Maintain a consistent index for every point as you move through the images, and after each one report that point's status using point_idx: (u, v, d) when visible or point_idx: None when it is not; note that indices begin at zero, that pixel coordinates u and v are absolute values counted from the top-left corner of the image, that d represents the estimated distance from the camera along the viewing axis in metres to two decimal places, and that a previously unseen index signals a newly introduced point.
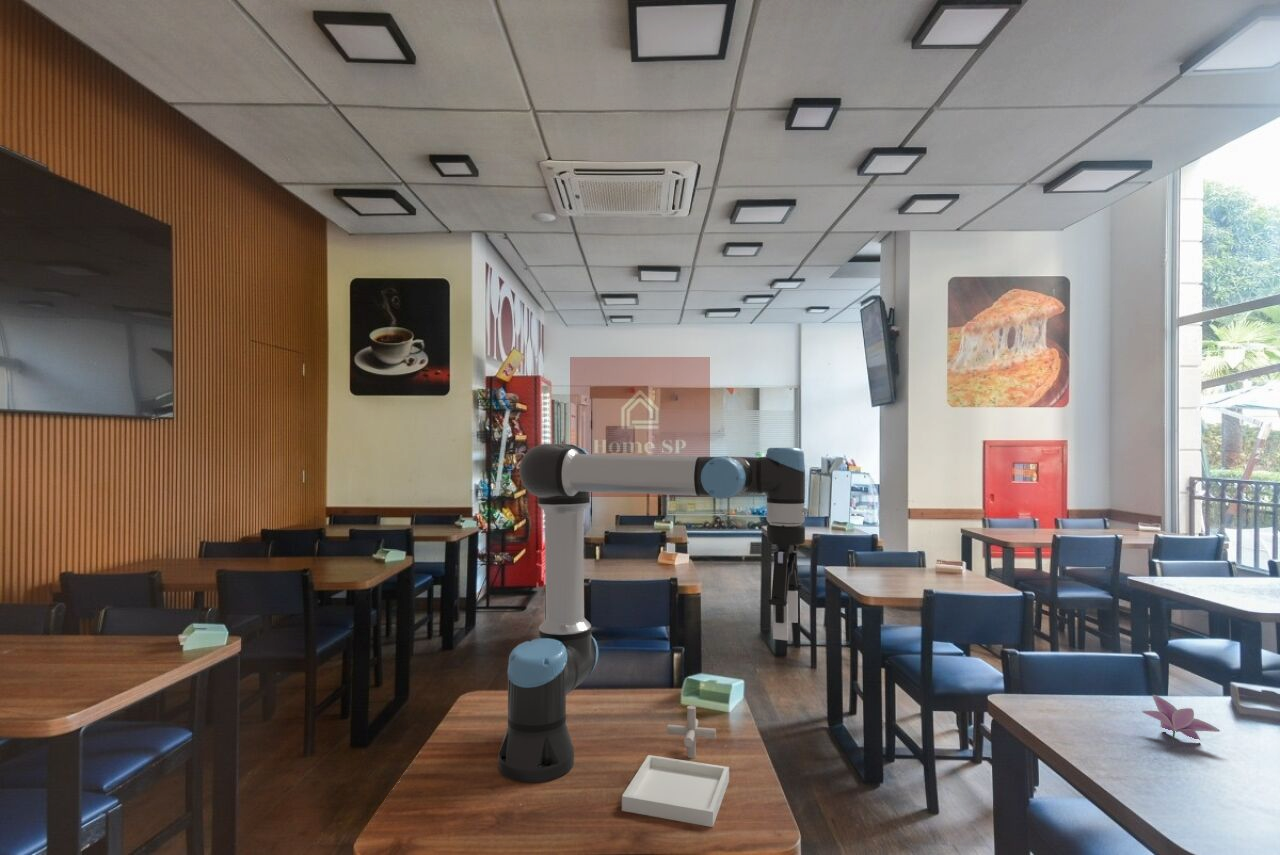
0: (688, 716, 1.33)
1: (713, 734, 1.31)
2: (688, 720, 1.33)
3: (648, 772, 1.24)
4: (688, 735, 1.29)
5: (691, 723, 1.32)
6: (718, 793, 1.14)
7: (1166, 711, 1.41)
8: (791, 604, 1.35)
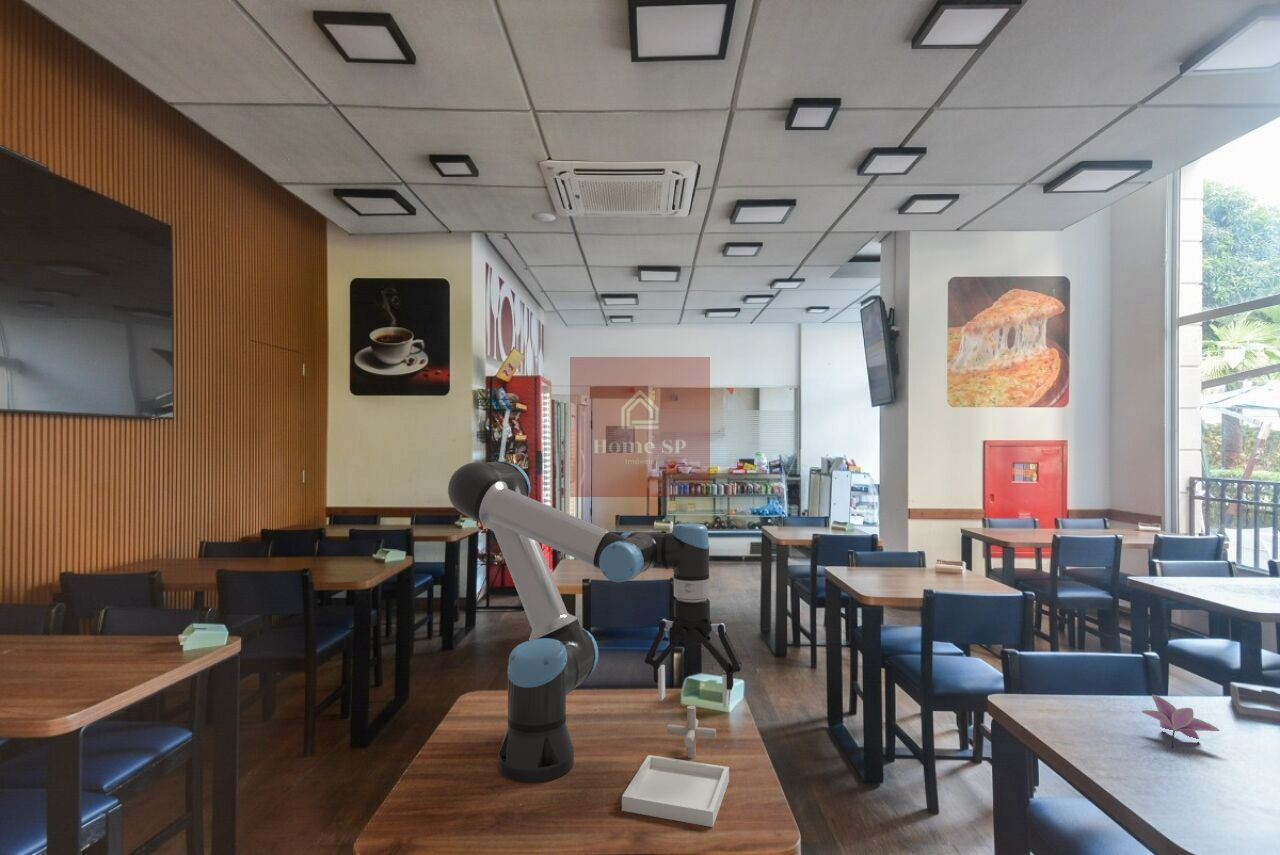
0: (688, 716, 1.33)
1: (713, 734, 1.31)
2: (688, 720, 1.33)
3: (648, 772, 1.24)
4: (688, 735, 1.29)
5: (691, 723, 1.32)
6: (718, 793, 1.14)
7: (1166, 710, 1.41)
8: None
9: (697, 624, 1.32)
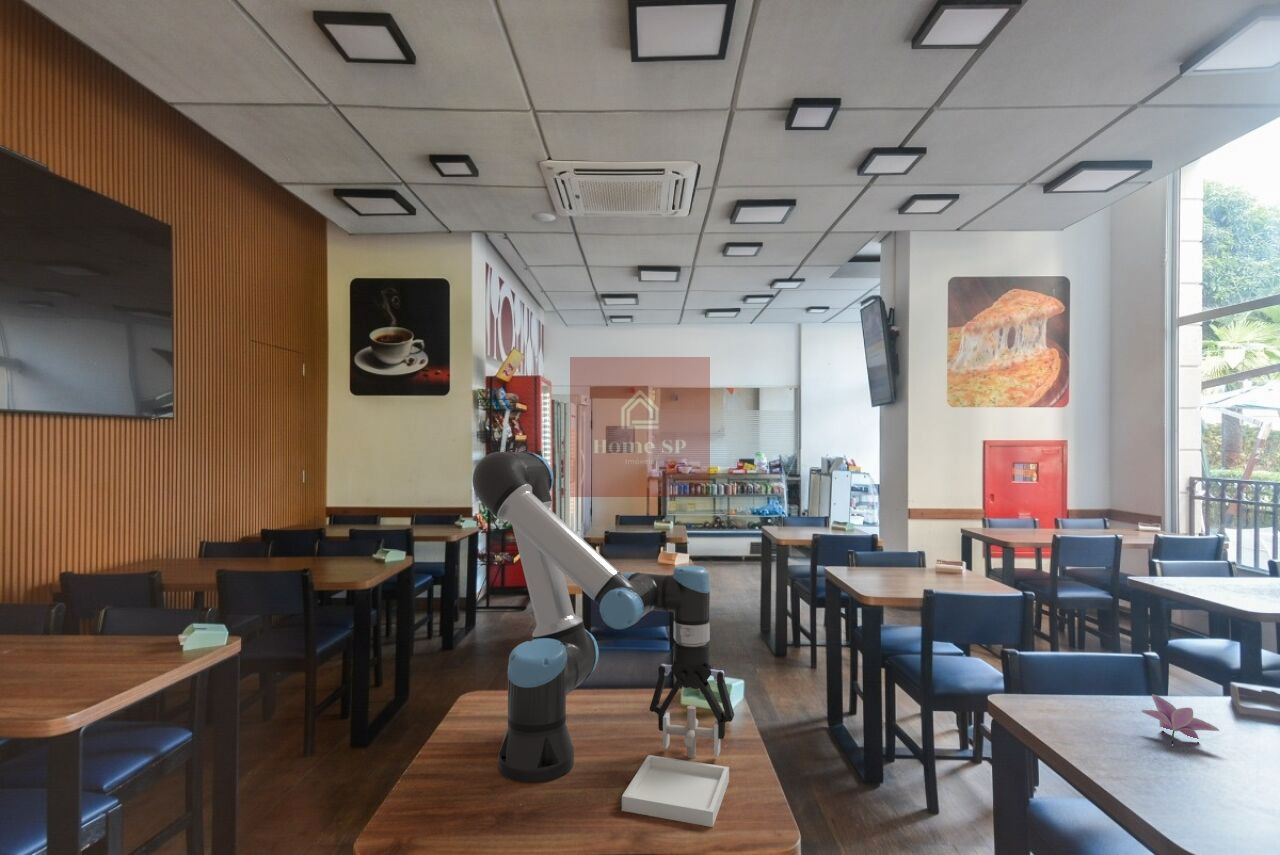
0: (688, 716, 1.33)
1: (713, 734, 1.31)
2: (688, 720, 1.33)
3: (648, 772, 1.24)
4: (688, 735, 1.29)
5: (691, 723, 1.32)
6: (718, 793, 1.14)
7: (1165, 710, 1.41)
8: None
9: (697, 667, 1.32)
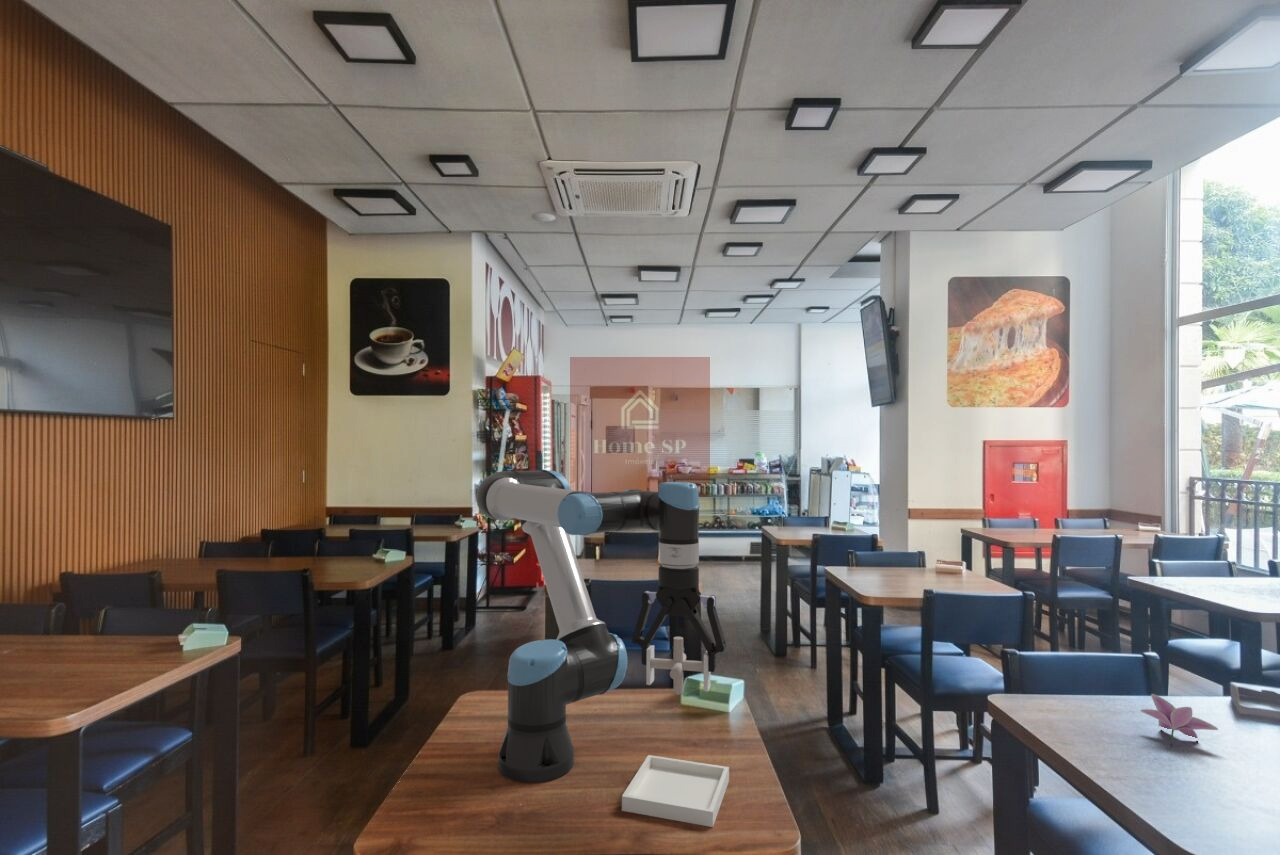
0: (675, 648, 1.19)
1: (702, 666, 1.17)
2: (675, 652, 1.19)
3: (648, 772, 1.24)
4: (674, 667, 1.15)
5: (678, 655, 1.18)
6: (718, 793, 1.14)
7: (1164, 709, 1.42)
8: None
9: (685, 592, 1.18)
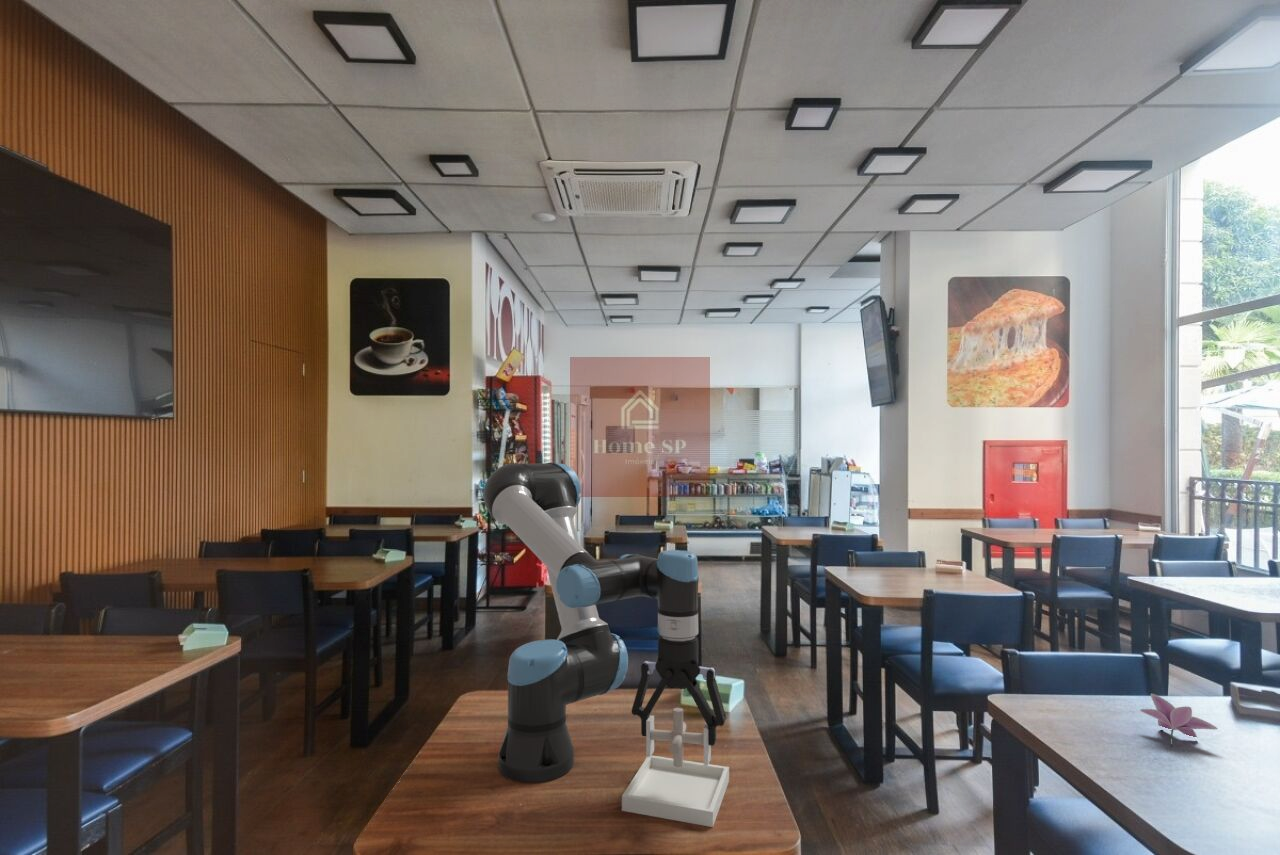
0: (674, 720, 1.18)
1: (702, 739, 1.16)
2: (674, 724, 1.18)
3: (648, 772, 1.24)
4: (674, 741, 1.14)
5: (678, 727, 1.17)
6: (718, 793, 1.14)
7: (1164, 709, 1.42)
8: None
9: (684, 664, 1.17)
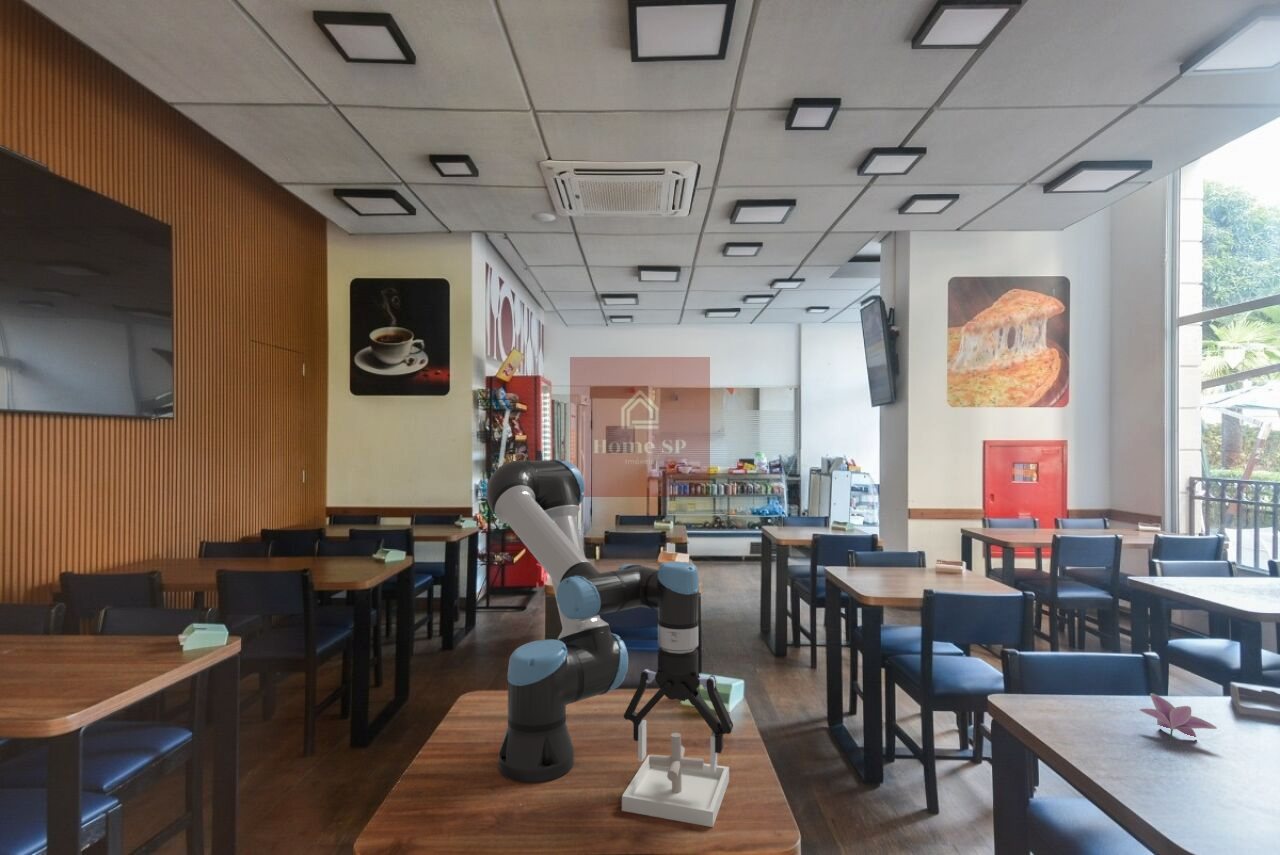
0: (672, 745, 1.18)
1: (701, 765, 1.16)
2: (672, 750, 1.18)
3: (648, 772, 1.24)
4: (672, 767, 1.14)
5: (676, 753, 1.17)
6: (718, 793, 1.14)
7: (1163, 708, 1.42)
8: None
9: (683, 677, 1.17)
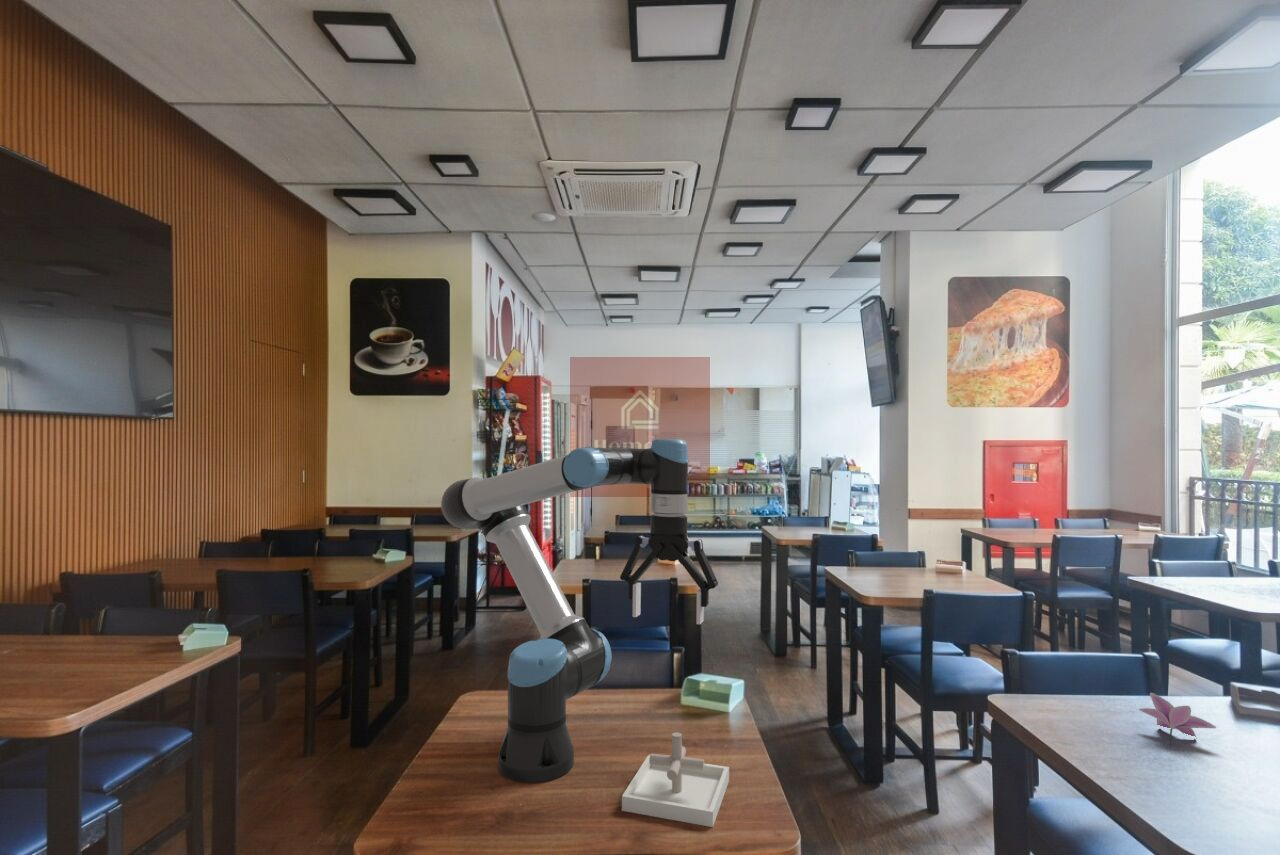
0: (673, 745, 1.18)
1: (701, 765, 1.16)
2: (673, 749, 1.18)
3: (648, 772, 1.24)
4: (672, 767, 1.15)
5: (676, 753, 1.17)
6: (718, 793, 1.14)
7: (1163, 708, 1.42)
8: None
9: (673, 540, 1.29)
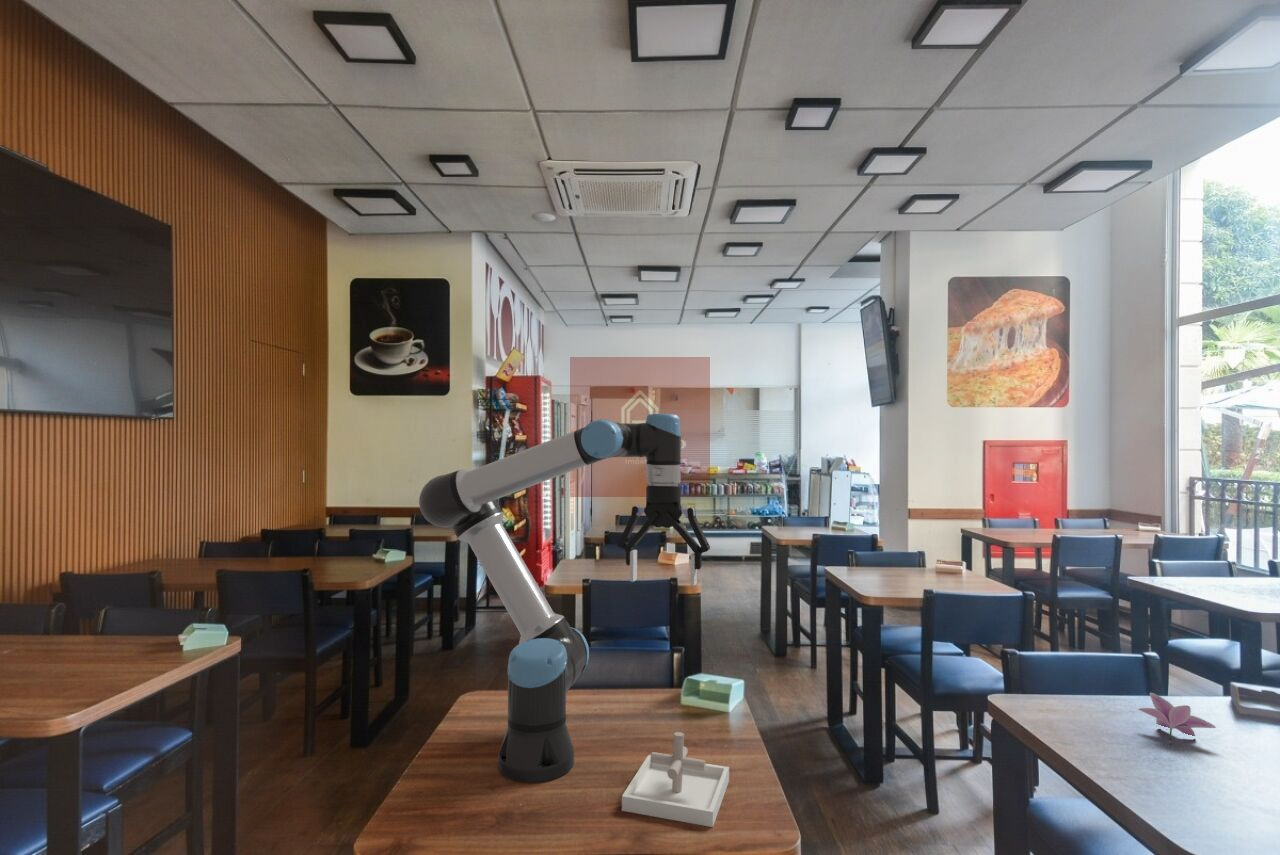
0: (675, 744, 1.18)
1: (702, 766, 1.16)
2: (674, 748, 1.18)
3: (648, 772, 1.24)
4: (673, 766, 1.15)
5: (678, 752, 1.18)
6: (718, 793, 1.14)
7: (1163, 708, 1.42)
8: None
9: (668, 508, 1.38)
